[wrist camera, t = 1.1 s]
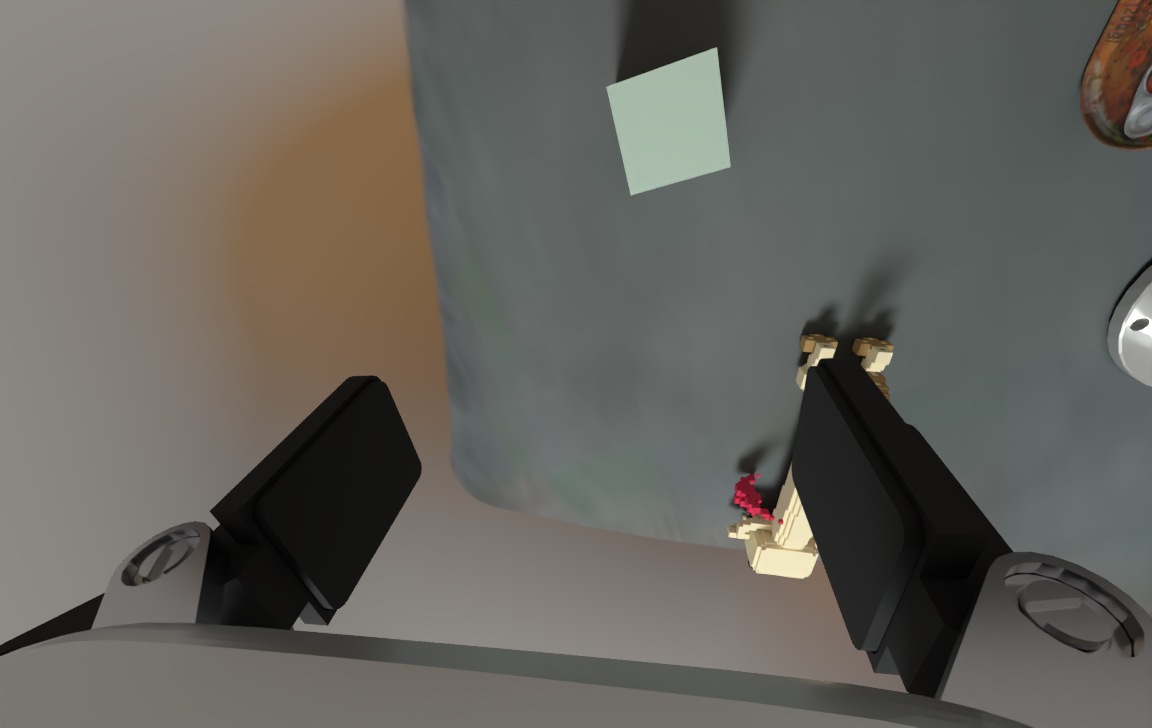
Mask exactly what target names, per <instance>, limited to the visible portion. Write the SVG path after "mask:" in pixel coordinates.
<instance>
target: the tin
mask: <svg viewBox="0 0 1152 728" xmlns="http://www.w3.org/2000/svg"><path fill="white" fill-rule="evenodd" d="M1080 107H1081V114H1082V118H1083V121H1084V124H1085V126H1086V127H1087V129H1088V130H1089V132H1090V133H1091V135H1092V136H1093V137H1094V138H1096V139H1097V140H1098V141H1100V142H1101V143H1103V144H1105V145H1107V146H1109V147H1112V148H1117V149H1121V150H1133V151H1135V150H1149V149H1152V0H1119V2H1118V4H1117V6H1116V8H1115V10H1114V12H1113V14H1112V16H1111V17H1110V19H1109V21H1108V23H1107V25H1106V27H1105V29H1104V31H1103V33H1102V35H1101V37H1100V39H1099V41H1098V43H1097V45H1096V47H1095V49H1094V51H1093V53H1092V56H1091V58H1090V60H1089V63H1088V65H1087V68H1086V71H1085V74H1084V78H1083V82H1082V88H1081V96H1080Z"/></svg>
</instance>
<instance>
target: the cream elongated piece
mask: <svg viewBox="0 0 1152 728" xmlns="http://www.w3.org/2000/svg"><path fill="white" fill-rule="evenodd" d="M837 344H838V342H837V341H836V339H835V338H834V337H825V336H823V335H820V334H809V335H802V338H801V341H800V345H799V347H800V348H801V350H802V351H803V352H812V354H809V357H808V361H807V364H806V363H805V365H803V366H802V367H799V371H798V374H797V378H796V382H797V384H798V386H799V387H800V389H802V391H803V392H804V387H805V381H806V375H807V371H808V368H809V367H810V366H817V364H818V362H819V360H820V359H822V358H833V355H834V353H835V350H836V347H837ZM893 347H894V346H893V345H892V344H891V343H890V342H889V341H887V340H878V339H877V338H867V337H863V338H862V339H855V342H854V345H853V348H852V351H853V352H854V353H855V354H856V355H858V356H866V358H863V360H862V362H861V365H862V367H863V368H864V369H865V371H866V372H867V373H868V375H869V376H870V377H871V379H872V380H873V381H874V383H875V384H876V385H877V386H878V388H879V389H880V390H881V392H882V393H883V394H884V396H885V397H886V398H887V400H888V399H889V397H890V395H889V394H888V390H889V387H888V386H887V385H886V384H885V381H886V378H885V377H884V376H883V375H882V374H881V373H880V371H883V370H884V368H885V365H889V362H890V360H891V357H892V355H893V352H892V350H893ZM888 401H889V400H888ZM889 402H890V401H889ZM890 403H891V402H890ZM791 466H792V463H791ZM791 466H790V469H789V473H788V476H787V479H786V482H785V485H783V486H782V490H781V493H780V496H779V499H778V503H777V506H776V508H774V510H773V514H772V515H770V513H769V510H768V509H762V508H760V503H761V502H762V500H761V496H760V493H756V492H755V488H754V485H750V483H755V481H756V480H755V477H754V474H750V476H748V475H747V478H746V477H741V479H740V480H741V481H739V482H738V483H736V485H735V492H736V493H735V494H734V498H733V499H734V503H735V504H740V506H741V507H747V512H748V513H751V515H752V518H747V517H746V515H743V516H742V518H743V519H744V520H743V519H742V521H741V522H739V521H738V523H734V525H728V528H727V531H728V536H729V537H733V538H739V539H745V546H746V550H747V554H748V564H749V567H751V568H752V570H754V572H756V573H763V574H771V575H779V576H786V577H794V578H802V579H804V577H808V576H809V574H811V572H812V570H813V567H814V565H815V562H816V559H817V557H818V551H817V549H816V548H817V545H816V542H815V540H814V537H813V534H812V532H811V529H810V526H809V523H808V521H807V518H806V515H805V512H804V510H803V507H802V504H801V501H800V499H799V496H798V493H797V490H796V488H795V485H794V482H793V478H792V471H791ZM756 477H760V474H757V475H756ZM756 513H757V514H756ZM755 515H756V516H755Z"/></svg>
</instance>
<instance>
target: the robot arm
mask: <svg viewBox="0 0 1152 728" xmlns="http://www.w3.org/2000/svg"><path fill="white" fill-rule="evenodd" d="M1107 342H1108V347H1109V353H1110V355H1111V357H1112V358H1113V360H1114V362H1115V363H1116V365H1117V366H1118V367H1120V368H1121V369H1122V370H1123V371H1124V372H1126V373H1127V374H1128V375H1130V376H1132V377H1134V378H1135V379H1137V380H1139V381H1141V382H1142V383H1144V384H1146V385H1149V386H1151V387H1152V265H1151V266H1150V267H1149V268H1148V269H1147V270H1145V271H1144V272H1143V273H1142V275H1141V276H1140V277H1139V278H1138V279H1137V280H1136V281H1135V282H1134V283H1133V285H1132V286H1131V287H1130V288H1129V289H1128V290H1127V292H1126V293H1125V295H1124V296H1123V298H1122V299H1121V301H1120V303H1119V304H1118V306H1117V307H1116V309H1115V312H1114V314H1113V316H1112V319H1111V321H1110V324H1109V330H1108V337H1107ZM421 470H422V467H421V462H420V460H419V458H418V455H417V453H416V450H415V448H414V446H413V443H412V441H411V439H410V437H409V434H408V432H407V430H406V428H405V425H404V423H403V421H402V418H401V416H400V414H399V411H398V409H397V407H396V405H395V402H394V400H393V398H392V396H391V393H390V391H389V389H388V386H387V385H386V384H385V383H384V382H382V381H381V380H380V379H379V378H378V377H377V376H352V377H349V378H348V379H346V380H345V381H344V382H343V383H342V384H341V385H340V386H339V387H338V388H337V389H336V390H335V391H334V392H333V393H332V394H331V395H330V396H329V397H328V398H327V399H326V400H324V402H322V403H321V404H320V405H319V406H318V407H317V408H316V409H315V410H314V411H313V412H312V413H311V414H310V415H309V416H308V417H307V418H306V419H305V420H304V421H303V422H302V423H301V424H300V425H299V426H298V427H296V428H295V429H294V430H293V431H292V432H291V433H290V434H289V435H288V436H287V437H286V438H285V439H284V440H283V441H282V442H281V443H280V444H279V445H278V446H277V447H276V448H275V449H274V450H273V451H272V452H271V453H270V454H268V455H267V456H266V457H265V458H264V460H262V461H261V462H260V463H259V464H258V465H257V466H256V467H255V468H254V469H253V470H252V471H251V472H250V473H249V474H248V475H247V476H246V477H245V478H244V479H243V480H242V481H240V482H239V483H238V484H237V486H235V487H234V488H233V489H232V490H231V491H230V492H229V493H228V494H227V495H226V496H225V497H224V498H223V499H222V500H221V501H220V502H219V503H218V504H217V505H216V506H215V507H214V508H212V510H210V512H211V513H212V515H213V516H214V517H215V518H216V519H217V520H218V522H219V523H220V525H219V526H218V527H217V528H216V529H215V530H214V531H213V530H212V529H211V528H210V527H209V526H208V525H207V524H206V523H204V522H197V521H194V522H188V523H183V524H180V525H177V526H174V527H171V528H169V529H167V530H165V531H163V532H161V533H159V534H157V535H155V536H154V537H152V538H151V539H149V540H148V541H146V542H144V543H143V544H142V545H140V546H139V547H138V548H136V549H135V550H134V551H133V552H132V553H130V554H129V555H128V556H127V557H126V558H125V559H124V560H123V562H122V563H121V564H120V565H119V566H118V567H117V568H116V570H115V572H114V574H113V575H112V577H111V579H110V582H109V584H108V587H107V589H106V592H105V593H103V594H101V595H99V596H98V597H96V598H93V599H92V600H89V601H87V602H85V603H83V604H81V605H79V606H77V607H75V608H73V609H71V610H69V611H68V612H65V613H64V614H61V615H59V616H58V617H55V618H53V619H51V620H49V621H48V622H45V623H44V624H41V625H39V626H37V627H35V628H33V629H32V630H30V631H27V632H26V633H23V634H21V635H19V636H17V637H15V638H14V639H12V640H9V641H7V642H5V643H4V644H2V645H0V728H1152V618H1151V616H1150V615H1149V614H1148V613H1147V612H1146V611H1145V610H1144V609H1143V608H1142V607H1141V606H1140V605H1139V604H1138V603H1137V602H1136V601H1135V600H1133V599H1132V598H1131V597H1130V596H1129V595H1128V594H1126V593H1125V592H1124V591H1122V590H1121V589H1119V588H1118V587H1116V586H1115V585H1113V584H1112V583H1111V582H1109V581H1108V580H1106V579H1105V578H1103V577H1101V576H1099V575H1097V574H1095V573H1093V572H1091V571H1089V570H1087V569H1085V568H1084V567H1082V566H1080V565H1077V564H1074V563H1072V562H1069V561H1066V560H1063V559H1060V558H1057V557H1055V556H1050V555H1045V554H1040V553H1034V552H1013V551H1012V550H1011V548H1010V547H1009V546H1008V545H1007V543H1006V542H1005V541H1004V540H1003V538H1002V537H1001V536H1000V534H999V533H998V532H997V531H996V529H995V528H994V527H993V525H992V524H991V523H990V522H989V520H988V519H987V518H986V517H985V515H984V514H983V513H982V511H981V510H980V509H979V508H978V506H977V505H976V504H975V503H974V501H973V500H972V499H971V497H970V496H969V495H968V494H967V492H966V491H965V490H964V488H963V487H962V486H961V485H960V483H959V482H958V481H957V480H956V478H955V477H954V476H953V474H952V473H951V472H950V471H949V469H948V468H947V467H946V466H945V464H944V463H943V462H942V460H941V459H940V458H939V457H938V455H937V454H936V453H935V451H934V450H933V449H932V448H931V446H930V445H929V444H928V443H927V441H926V440H925V439H924V437H923V436H922V435H921V434H920V432H919V431H918V430H917V429H916V428H915V427H914V426H912V425H909V424H906V423H905V422H904V421H903V419H902V418H901V417H900V415H899V414H898V413H897V411H896V410H895V409H894V407H893V406H892V405H891V403H890V402H889V401H888V400H887V398H886V397H885V396H884V394H883V393H882V392H881V390H880V389H879V388H878V386H877V385H876V384H875V383H874V381H873V380H872V379H871V377H870V376H869V375H868V373H867V372H866V371H865V369H864V368H863V367H862V365H861V364H860V363H859V362H858V360H857V359H855V358H853V357H845V358H822V359H820V360H819V362H818V364H817V366H810V367H809V368H808V371H807V375H806V381H805V387H804V393H803V399H802V405H801V411H800V417H799V423H798V429H797V435H796V441H795V447H794V453H793V459H792V466H791V471H792V478H793V482H794V485H795V488H796V490H797V493H798V496H799V499H800V501H801V504H802V507H803V510H804V512H805V515H806V518H807V521H808V523H809V526H810V529H811V532H812V534H813V537H814V540H815V542H816V545H817V548H818V551H819V553H820V556H821V559H822V562H823V564H824V567H825V570H826V573H827V575H828V578H829V581H830V583H831V586H832V589H833V592H834V594H835V597H836V600H837V603H838V605H839V608H840V611H841V613H842V616H843V619H844V622H845V625H846V627H847V630H848V633H849V635H850V638H851V640H852V643H853V644H854V646H855V648H857V649H858V650H866V652H867V655H868V658H869V660H870V663H871V665H872V668H873V671H874V673H883V674H895V675H900V677H901V679H902V681H903V684H904V686H905V688H906V691H907V692H909V693H903V692H897V691H890V690H884V689H877V688H872V687H866V686H859V685H853V684H846V683H836V682H828V681H819V680H811V679H801V678H793V677H784V676H775V675H766V674H757V673H749V672H739V671H731V670H721V669H711V668H701V667H690V666H680V665H669V664H659V663H648V662H637V661H627V660H617V659H606V658H595V657H585V656H574V655H565V654H553V653H543V652H532V651H521V650H510V649H499V648H488V647H477V646H466V645H454V644H444V643H433V642H432V643H431V642H422V641H410V640H399V639H388V638H377V637H365V636H353V635H341V634H328V633H317V632H305V631H294V628H293V624H294V623H295V621H296V620H297V618H298V617H300V618H301V619H302V621H303V622H304V623H305V624H317V625H328V624H329V623H330V621H331V619H332V617H333V616H334V614H335V613H336V611H337V609H339V608H341V607H342V606H343V605H344V604H345V602H347V600H348V598H349V596H350V595H351V593H352V592H353V590H354V588H355V586H356V585H357V583H358V581H359V580H360V578H361V576H362V575H363V573H364V571H365V570H366V568H367V566H368V564H369V563H370V561H371V559H372V558H373V556H374V554H375V553H376V551H377V549H378V547H379V546H380V544H381V542H382V541H383V539H384V537H385V535H386V534H387V532H388V530H389V529H390V527H391V525H392V524H393V522H394V520H395V518H396V517H397V515H398V513H399V512H400V510H401V508H402V507H403V505H404V503H405V502H406V500H407V498H408V496H409V495H410V493H411V491H412V489H413V488H414V486H415V484H416V482H417V481H418V479H419V478H420V475H421Z"/></svg>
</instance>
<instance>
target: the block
mask: <svg viewBox="0 0 1152 728" xmlns="http://www.w3.org/2000/svg"><path fill="white" fill-rule="evenodd" d="M607 92H608V96H609V100H610V105H611V109H612V114H613V118H614V123H615V127H616V131H617V136H618V140H619V145H620V149H621V154H622V158H623V162H624V167H625V171H626V176H627V180H628V185H629V189H630V194H631V195H634V194H637V193H641V192H644V191H648V190H651V189H655V188H658V187H662V186H665V185H669V184H672V183H676V182H679V181H683V180H686V179H690V178H693V177H697V176H700V175H704V174H707V173H711V172H715V171H718V170H722V169H725V168H729V167H731V166H730V157H729V148H728V139H727V131H726V122H725V113H724V104H723V96H722V87H721V78H720V69H719V61H718V52H717V47H716V48H713V49H710V50H707V51H705V52H702V53H699V54H696V55H694V56H691V57H688V58H685V59H682V60H680V61H677V62H674V63H671V64H669V65H666V66H663V67H660V68H657V69H655V70H652V71H649V72H646V73H644V74H641V75H638V76H635V77H632V78H630V79H627V80H624V81H621V82H619V83H616V84H613V85H610V86H607Z"/></svg>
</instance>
